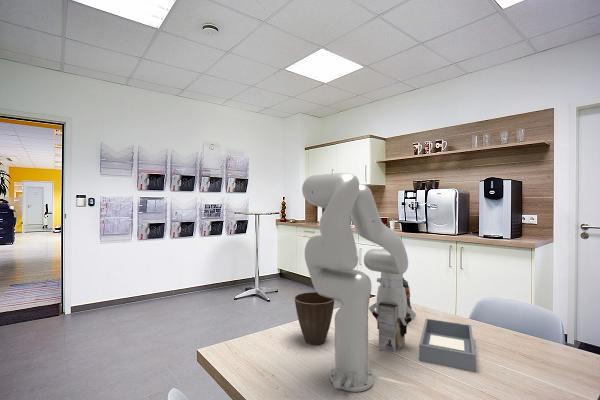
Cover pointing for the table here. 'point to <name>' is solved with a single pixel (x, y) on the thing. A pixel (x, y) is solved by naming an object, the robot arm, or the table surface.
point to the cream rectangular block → (447, 343)
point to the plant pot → (314, 316)
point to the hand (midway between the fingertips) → (391, 333)
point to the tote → (446, 355)
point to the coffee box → (390, 328)
